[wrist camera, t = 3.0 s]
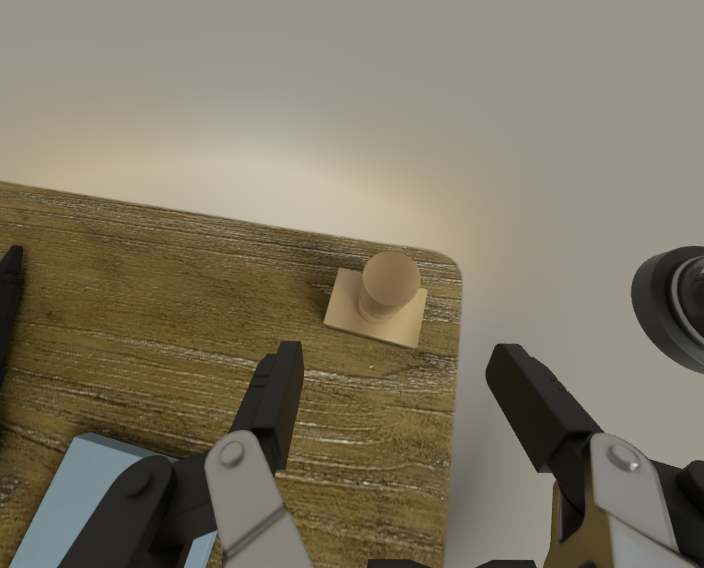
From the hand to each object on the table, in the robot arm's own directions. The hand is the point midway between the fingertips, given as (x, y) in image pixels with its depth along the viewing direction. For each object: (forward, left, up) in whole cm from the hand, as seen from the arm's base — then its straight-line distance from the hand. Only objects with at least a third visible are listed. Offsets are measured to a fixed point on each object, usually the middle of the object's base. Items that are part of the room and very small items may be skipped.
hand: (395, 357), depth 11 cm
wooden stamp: (+1, -4, -11) cm, 12 cm away
